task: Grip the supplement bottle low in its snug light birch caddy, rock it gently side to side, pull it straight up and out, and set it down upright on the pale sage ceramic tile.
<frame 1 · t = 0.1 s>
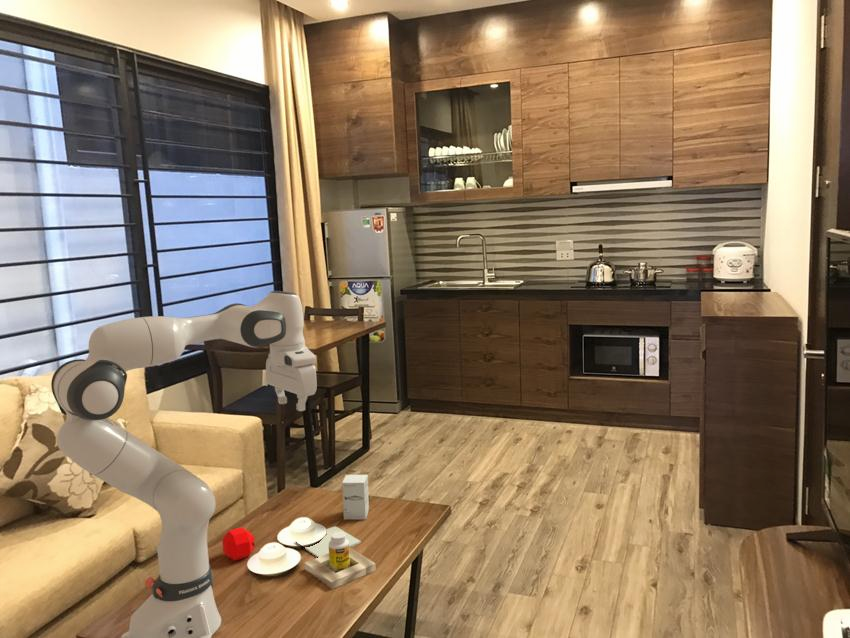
hand: (291, 407, 176), 48 cm above the table, fingers open, 8 cm apart
supplement bottle: (340, 570, 188), resting in birch caddy
supplement box: (356, 515, 222), on the table
sage tile: (328, 542, 204), on the table
birch caddy: (340, 569, 188), on the table
ball: (239, 556, 198), on the table
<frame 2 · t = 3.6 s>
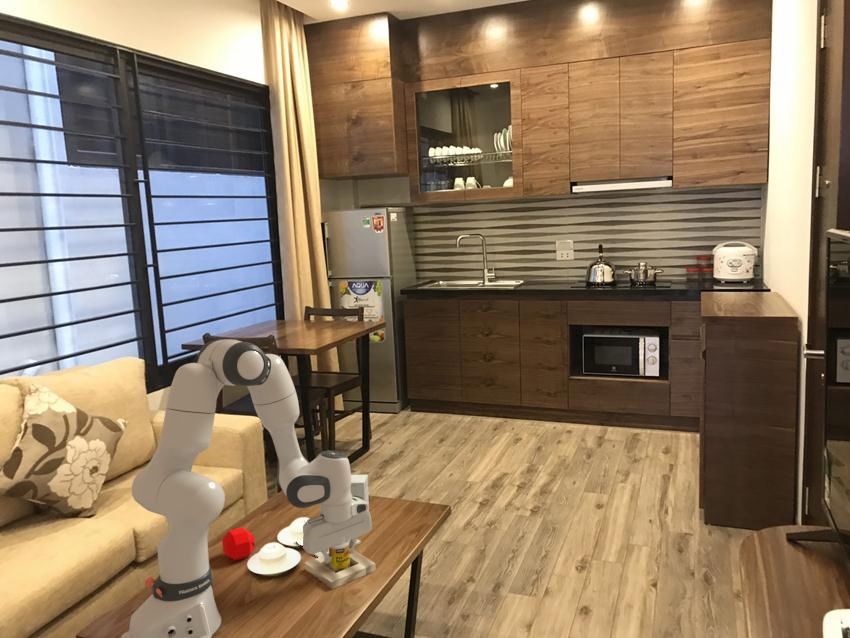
hand: (339, 557, 187), 4 cm above the table, fingers closed on supplement bottle, 6 cm apart
supplement bottle: (340, 570, 188), resting in birch caddy, touching gripper
everything else where it was.
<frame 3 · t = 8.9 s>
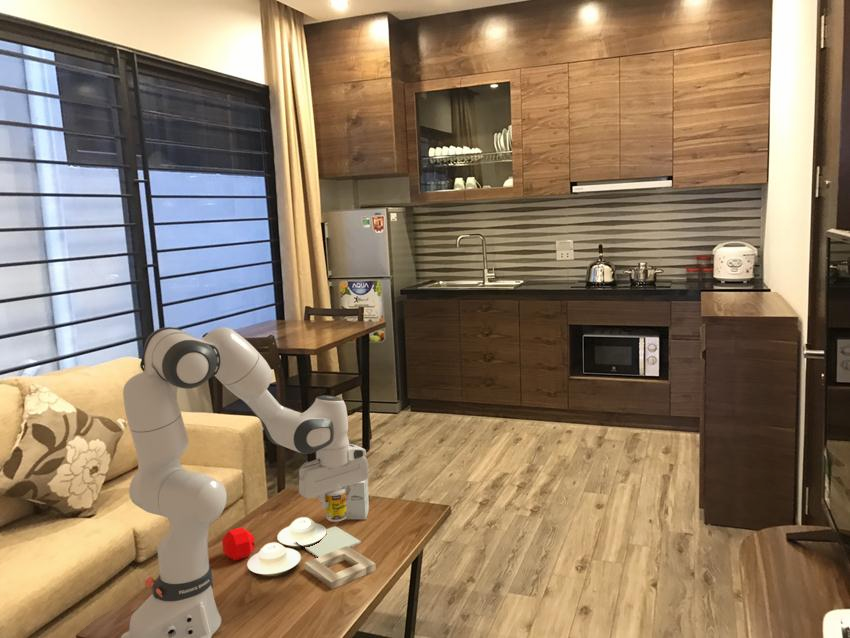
hand: (336, 504, 185), 19 cm above the table, fingers closed on supplement bottle, 6 cm apart
supplement bottle: (336, 518, 185), point 15 cm above the table, touching gripper
everything else where it was.
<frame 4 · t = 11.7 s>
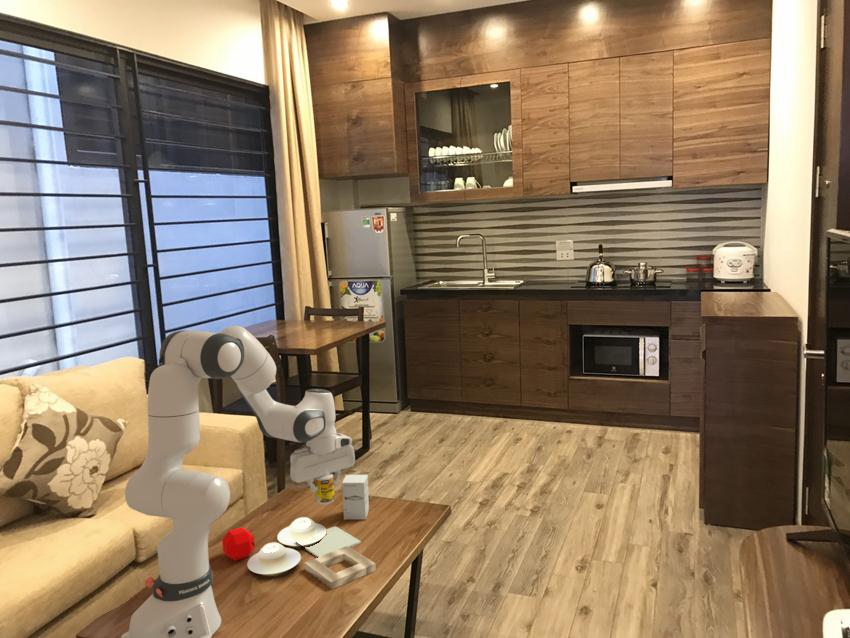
hand: (324, 488, 201), 17 cm above the table, fingers closed on supplement bottle, 6 cm apart
supplement bottle: (325, 501, 202), point 13 cm above the table, touching gripper
everything else where it was.
when the fingers open (6 cm above the table, at t = 14.1 s): supplement bottle stays where it is, resting on sage tile.
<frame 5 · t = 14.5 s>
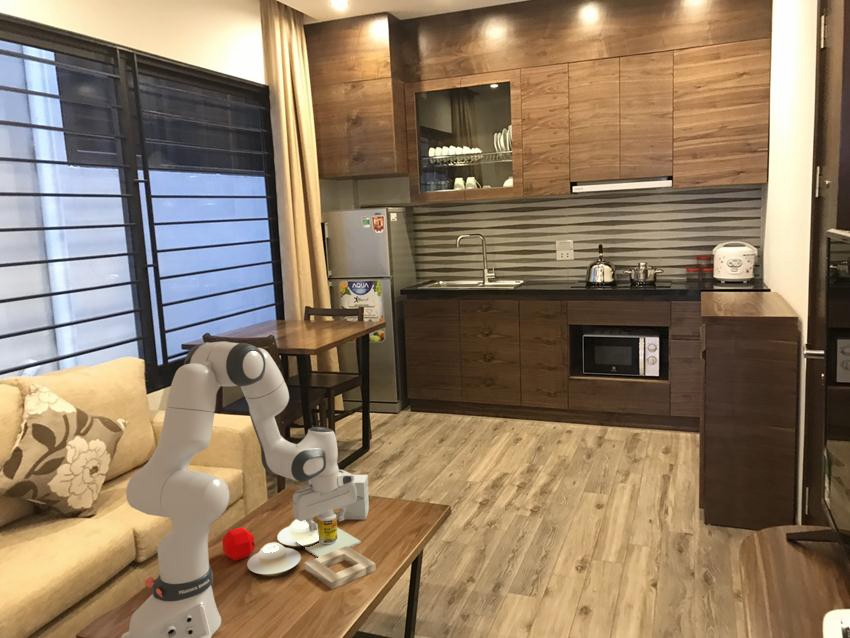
hand: (326, 525, 203), 6 cm above the table, fingers open, 8 cm apart
supplement bottle: (328, 541, 204), resting on sage tile
everything else where it was.
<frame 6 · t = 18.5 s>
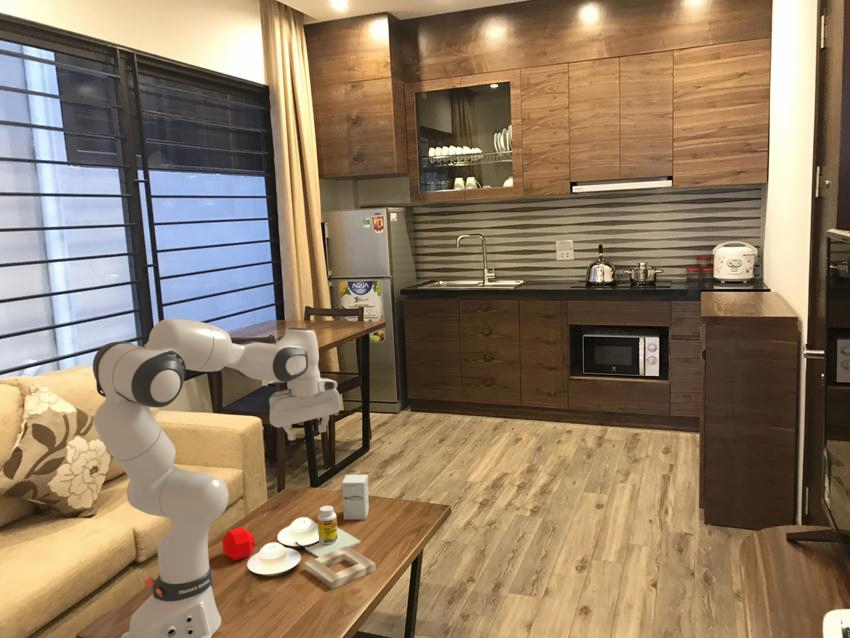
hand: (307, 435, 186), 37 cm above the table, fingers open, 8 cm apart
nothing on the table moved.
at the end: supplement bottle inside the target area on the sage tile (0.1 cm from its centre), point 0.4 cm above the sage tile's base; supplement bottle tilted 0°; the gripper is holding nothing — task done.
